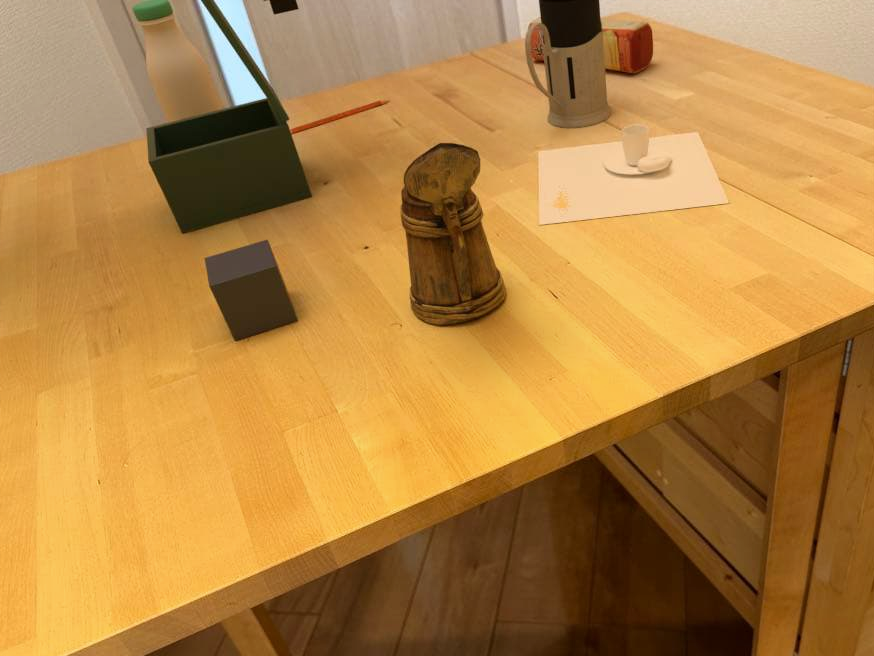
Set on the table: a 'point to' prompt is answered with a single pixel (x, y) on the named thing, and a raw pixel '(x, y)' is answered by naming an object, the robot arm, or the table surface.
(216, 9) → the lid
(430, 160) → the wooden mug
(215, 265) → the block
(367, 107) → the pencil
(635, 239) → the table surface
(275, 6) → the robot arm
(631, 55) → the snack package
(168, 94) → the milk bottle
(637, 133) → the teacup and saucer
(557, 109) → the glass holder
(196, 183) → the chest
